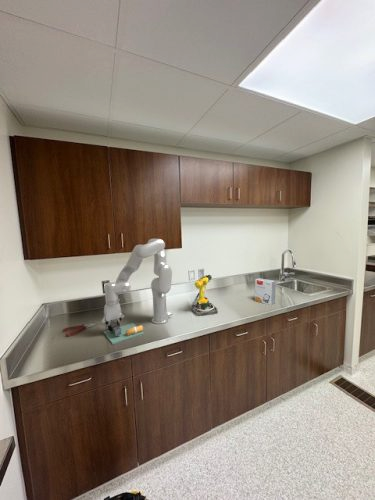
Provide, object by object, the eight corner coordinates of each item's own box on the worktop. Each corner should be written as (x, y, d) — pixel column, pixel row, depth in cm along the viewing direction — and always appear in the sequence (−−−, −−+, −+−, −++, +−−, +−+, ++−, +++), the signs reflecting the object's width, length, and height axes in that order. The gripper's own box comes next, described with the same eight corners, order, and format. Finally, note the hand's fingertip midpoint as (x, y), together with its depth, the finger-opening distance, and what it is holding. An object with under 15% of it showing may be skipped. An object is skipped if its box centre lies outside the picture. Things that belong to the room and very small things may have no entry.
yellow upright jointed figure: (220, 313, 163) (219, 278, 161) (196, 316, 159) (195, 280, 156) (211, 305, 181) (210, 273, 179) (190, 308, 177) (189, 275, 174)
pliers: (98, 327, 147) (98, 323, 147) (66, 338, 134) (66, 334, 134) (93, 322, 156) (92, 319, 156) (62, 332, 142) (61, 328, 142)
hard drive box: (254, 301, 188) (254, 279, 186) (258, 299, 193) (258, 277, 191) (271, 305, 176) (271, 282, 175) (275, 303, 181) (275, 280, 180)
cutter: (115, 326, 141) (115, 321, 141) (122, 334, 131) (121, 327, 130) (108, 328, 139) (108, 323, 138) (114, 336, 128) (114, 330, 128)
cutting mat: (133, 323, 150) (132, 317, 150) (144, 333, 135) (143, 326, 134) (103, 332, 138) (103, 325, 138) (112, 344, 123) (112, 337, 123)
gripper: (123, 297, 143) (124, 323, 145) (96, 303, 133) (98, 331, 135) (127, 300, 137) (128, 327, 138) (99, 306, 127) (101, 335, 129)
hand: (114, 329), depth 137 cm, fingers closed on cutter, 4 cm apart
